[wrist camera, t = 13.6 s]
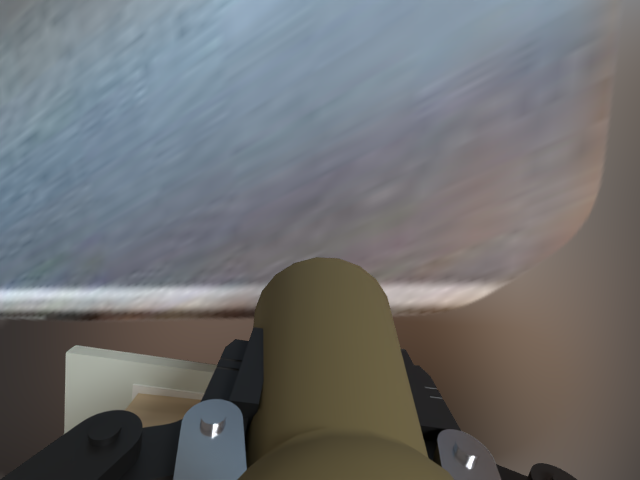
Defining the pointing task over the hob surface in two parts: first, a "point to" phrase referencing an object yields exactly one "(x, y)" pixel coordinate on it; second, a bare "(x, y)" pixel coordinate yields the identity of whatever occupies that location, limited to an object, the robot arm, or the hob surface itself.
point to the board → (125, 380)
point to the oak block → (160, 408)
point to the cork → (333, 382)
